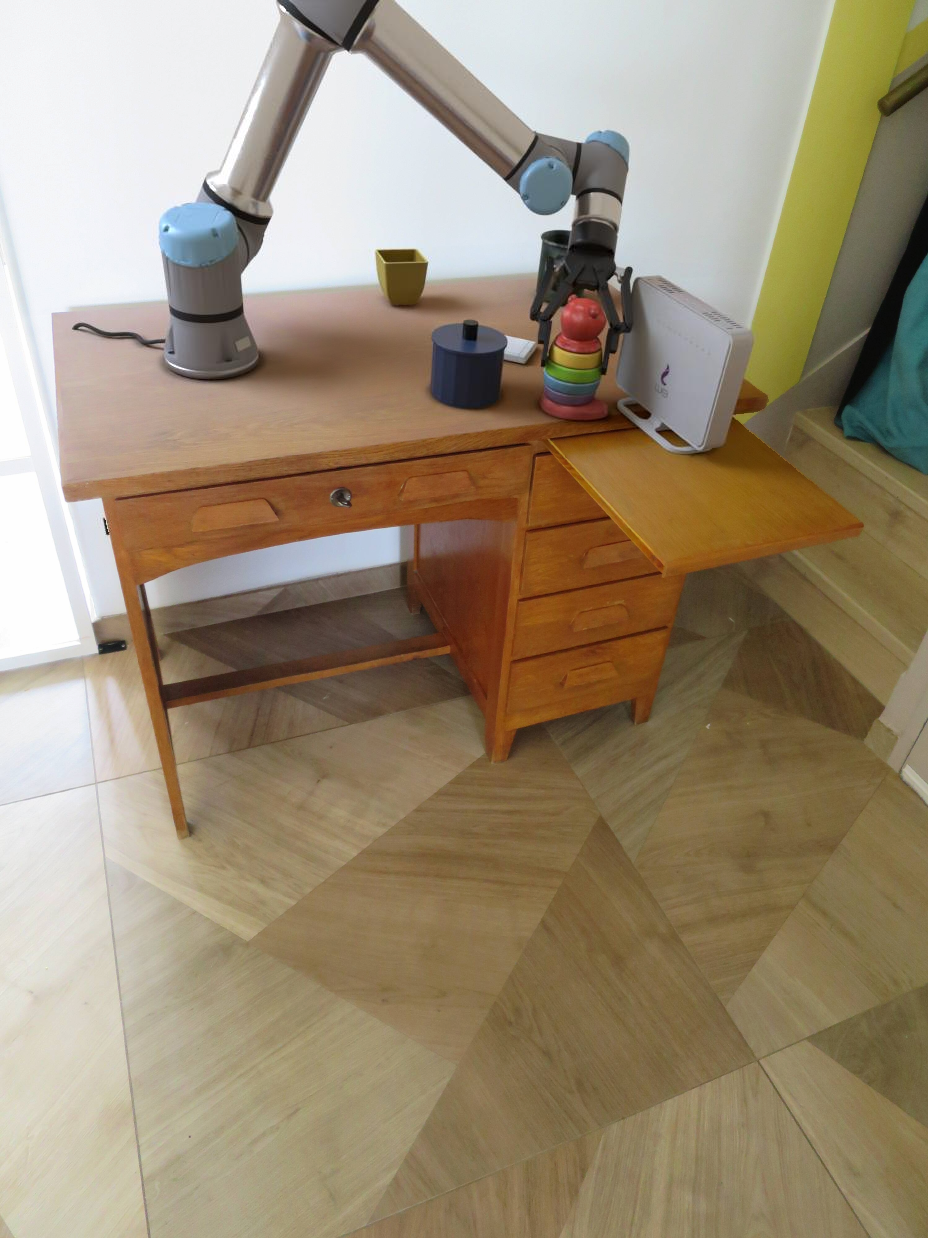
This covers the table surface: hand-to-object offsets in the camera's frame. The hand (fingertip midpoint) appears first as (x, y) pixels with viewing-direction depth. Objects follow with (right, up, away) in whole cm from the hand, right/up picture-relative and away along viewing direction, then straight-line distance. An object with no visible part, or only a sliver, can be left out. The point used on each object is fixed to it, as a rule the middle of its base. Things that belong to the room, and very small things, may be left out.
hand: (573, 367), depth 137 cm
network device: (+15, -8, +5) cm, 18 cm away
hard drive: (-11, +10, +24) cm, 28 cm away
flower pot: (-30, +24, +40) cm, 55 cm away
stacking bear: (0, -5, +8) cm, 9 cm away
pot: (-17, -2, +9) cm, 19 cm away
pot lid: (-16, +5, +3) cm, 17 cm away
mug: (+3, +28, +48) cm, 55 cm away
